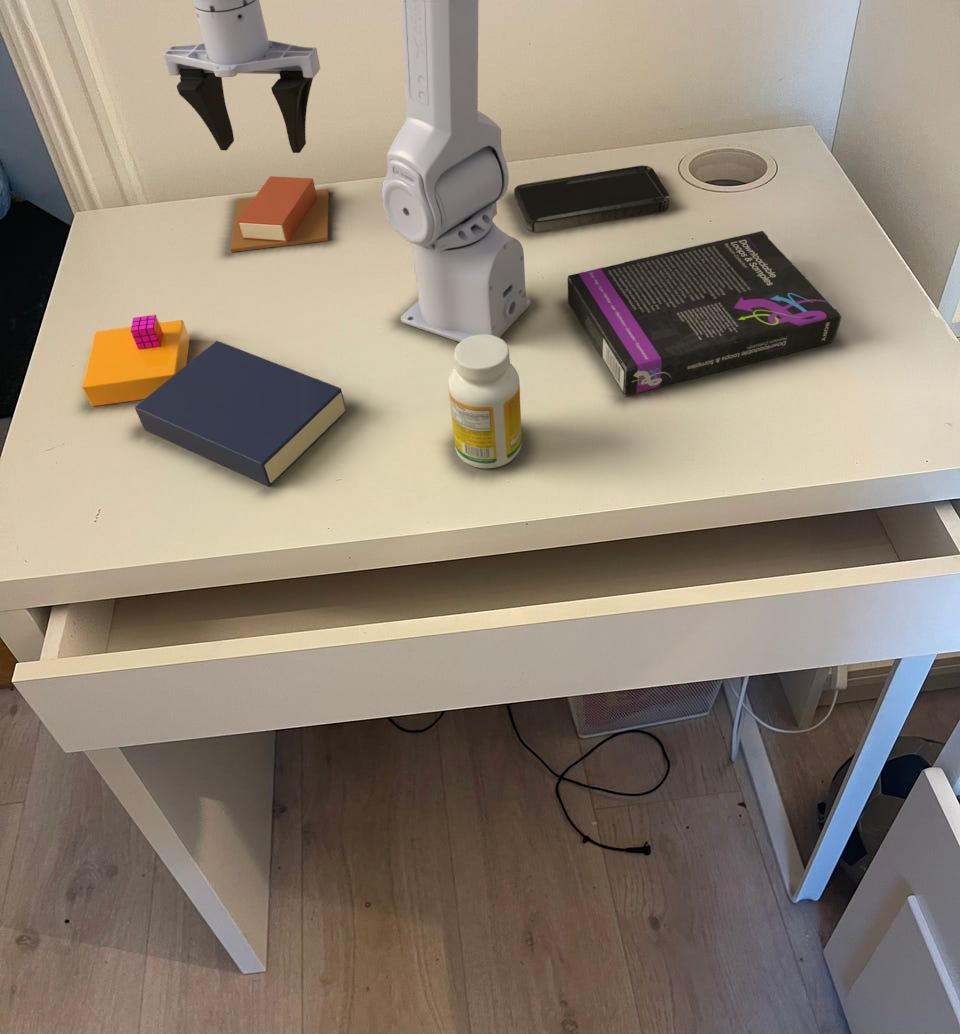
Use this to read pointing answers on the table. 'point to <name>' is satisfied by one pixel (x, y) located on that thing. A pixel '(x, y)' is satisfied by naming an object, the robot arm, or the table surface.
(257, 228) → the paperback
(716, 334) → the box
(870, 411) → the table surface
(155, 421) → the hardcover
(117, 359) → the flat orange square block
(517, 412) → the supplement bottle
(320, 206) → the desk pad
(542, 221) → the phone
